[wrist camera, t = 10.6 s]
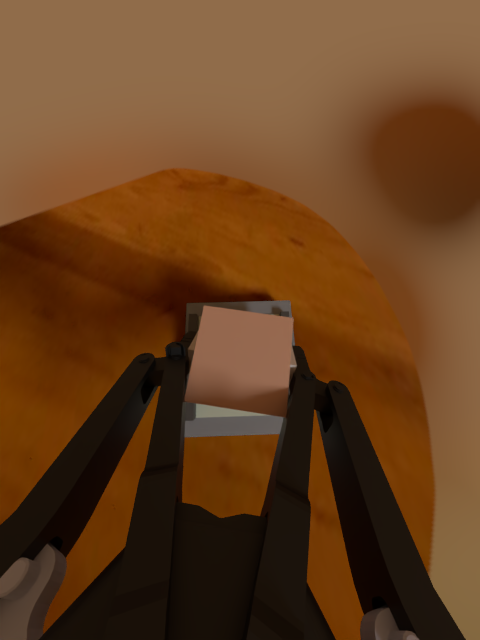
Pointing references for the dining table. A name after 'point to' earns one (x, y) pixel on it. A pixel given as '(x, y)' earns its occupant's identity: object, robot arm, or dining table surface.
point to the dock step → (226, 420)
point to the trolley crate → (241, 361)
